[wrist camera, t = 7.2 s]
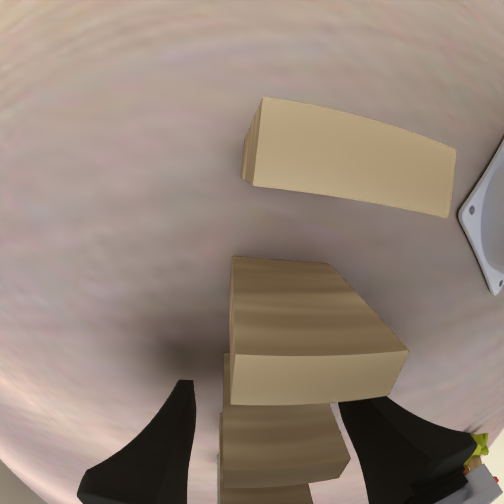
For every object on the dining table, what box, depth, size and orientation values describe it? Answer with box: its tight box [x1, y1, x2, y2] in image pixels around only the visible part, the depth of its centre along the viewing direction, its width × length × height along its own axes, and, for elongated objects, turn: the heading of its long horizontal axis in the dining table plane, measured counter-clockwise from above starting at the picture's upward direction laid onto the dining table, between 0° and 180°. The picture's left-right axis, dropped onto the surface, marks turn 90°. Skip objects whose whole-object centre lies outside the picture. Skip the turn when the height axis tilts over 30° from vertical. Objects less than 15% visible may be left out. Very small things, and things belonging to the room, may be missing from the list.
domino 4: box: [219, 413, 313, 504], centre depth 12 cm, size 2×4×7 cm, turn 84°
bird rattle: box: [463, 433, 499, 482], centre depth 17 cm, size 6×11×9 cm
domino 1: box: [241, 97, 456, 218], centre depth 8 cm, size 2×4×7 cm, turn 84°
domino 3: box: [223, 353, 351, 488], centre depth 11 cm, size 2×4×7 cm, turn 86°
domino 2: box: [230, 256, 409, 405], centre depth 9 cm, size 2×4×7 cm, turn 84°
